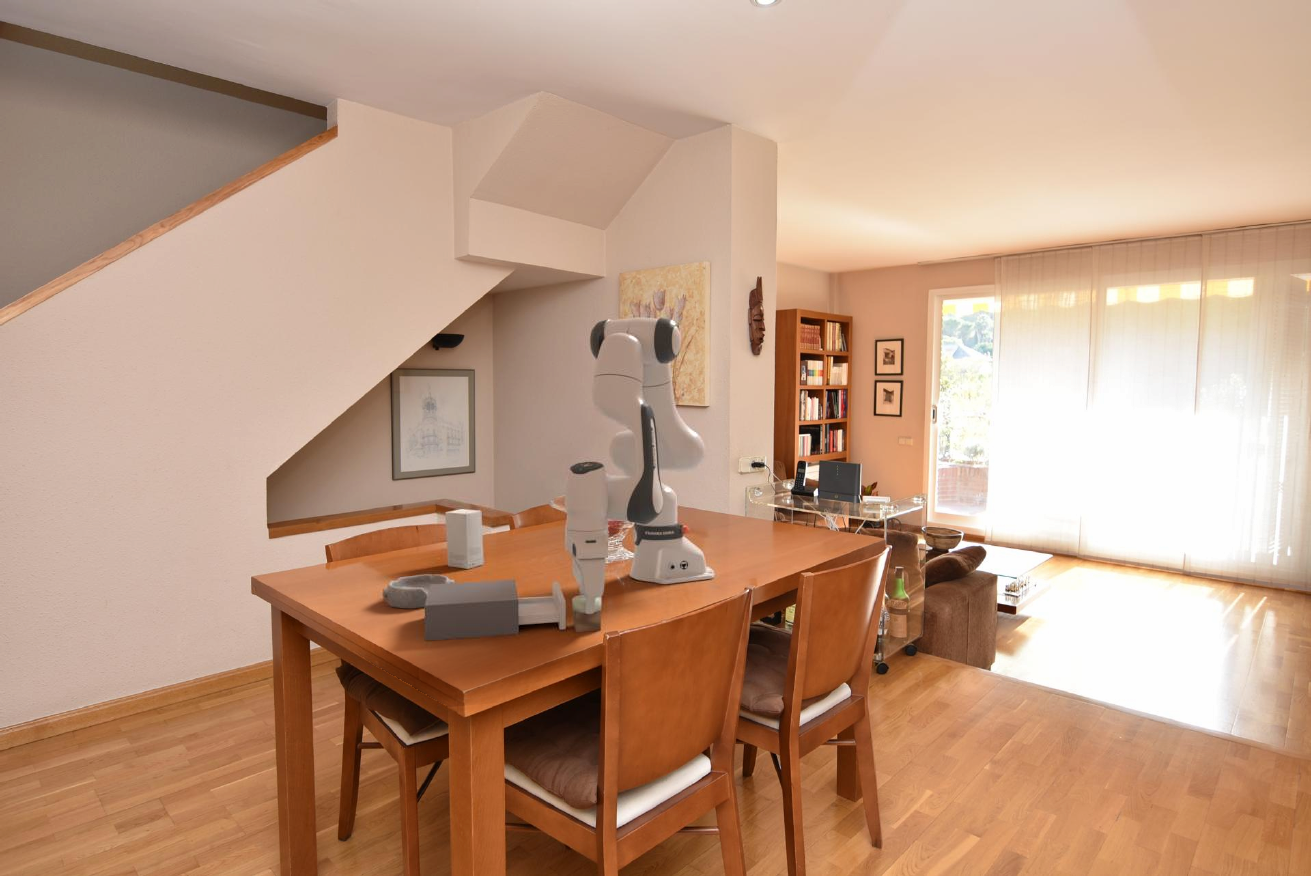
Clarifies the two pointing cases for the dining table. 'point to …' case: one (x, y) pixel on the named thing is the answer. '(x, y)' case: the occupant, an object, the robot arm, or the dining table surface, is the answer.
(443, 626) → the grey drawer cabinet
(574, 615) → the walnut block
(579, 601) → the pale green disc
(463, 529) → the skincare box
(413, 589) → the dish
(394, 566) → the dining table surface
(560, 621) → the white drawer
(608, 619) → the dining table surface
